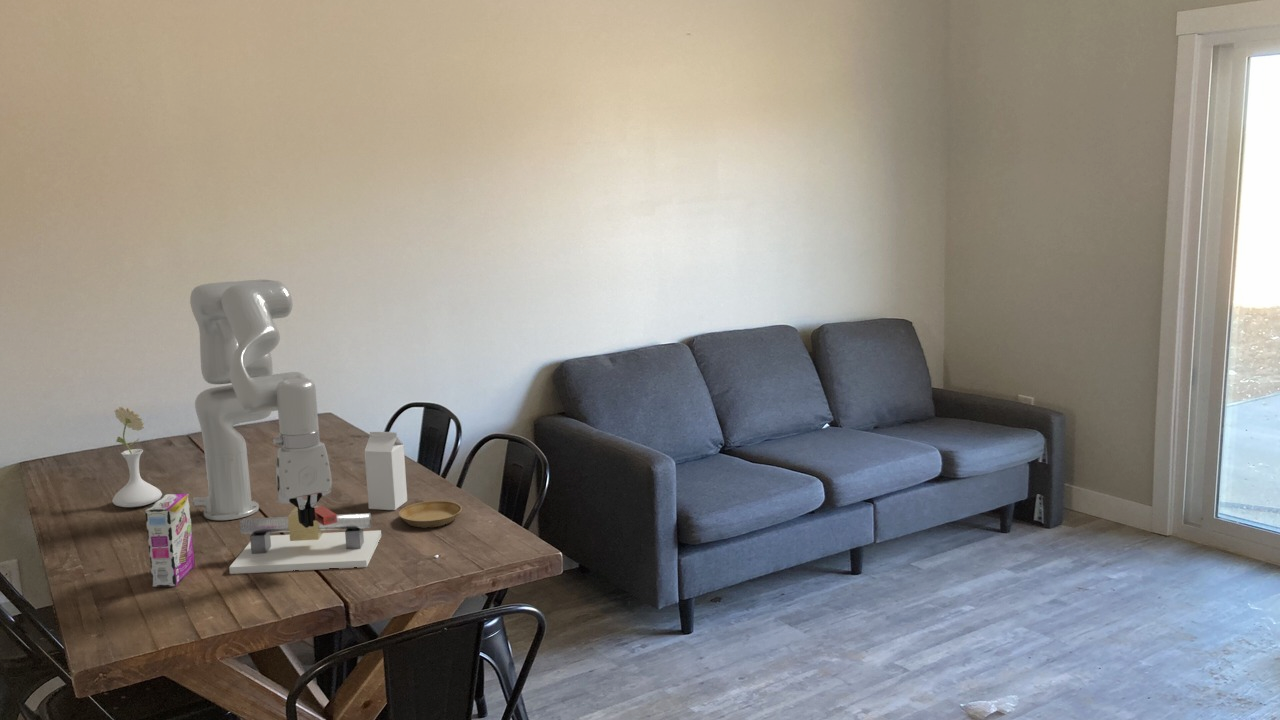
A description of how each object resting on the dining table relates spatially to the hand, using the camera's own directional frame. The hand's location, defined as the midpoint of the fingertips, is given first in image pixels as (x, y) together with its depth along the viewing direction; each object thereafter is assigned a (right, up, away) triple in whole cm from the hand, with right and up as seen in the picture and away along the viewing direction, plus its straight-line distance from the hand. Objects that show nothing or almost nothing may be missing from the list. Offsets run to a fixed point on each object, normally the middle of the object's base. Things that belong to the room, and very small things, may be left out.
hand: (307, 525), depth 205 cm
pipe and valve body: (-3, -7, +11) cm, 13 cm away
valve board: (-3, -8, +11) cm, 14 cm away
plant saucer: (+19, -4, +32) cm, 37 cm away
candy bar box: (-28, -11, 0) cm, 30 cm away
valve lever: (0, +1, +5) cm, 5 cm away
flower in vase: (-60, -3, +48) cm, 77 cm away
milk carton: (+6, -2, +43) cm, 43 cm away
